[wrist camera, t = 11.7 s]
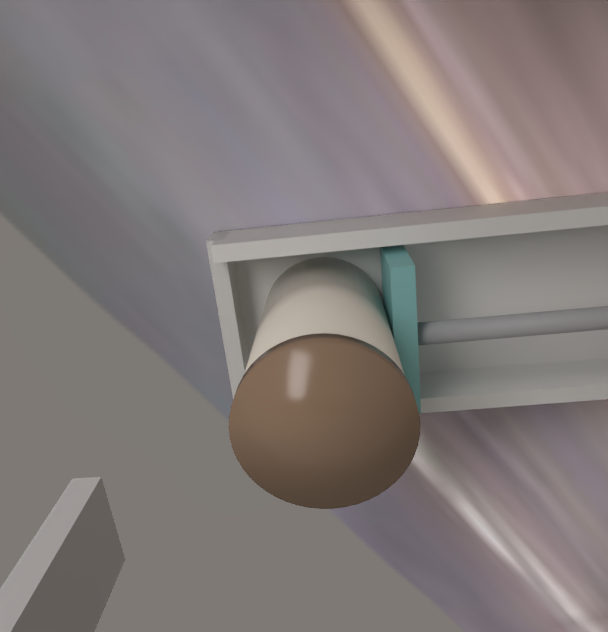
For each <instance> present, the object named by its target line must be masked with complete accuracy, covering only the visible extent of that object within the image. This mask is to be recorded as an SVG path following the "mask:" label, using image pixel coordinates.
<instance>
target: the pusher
mask: <svg viewBox="0 0 608 632" xmlns="http://www.w3.org/2000/svg"><path fill="white" fill-rule="evenodd" d="M380 257H381V274H382V290H383V305H384V309H385V312H386V315H387V319H388V322H389V325H390V329H391V332H392V335H393V339H394V342H395V345H396V349H397V352H398V355H399V359H400V362H401V365H402V369H403V372H404V375H405V376H406V378H407V380H408V382H409V384H410V386H411V388H412V391H413V394H414V398H415V401H416V404H417V408H418V411H419V414H421V401H420V376H419V350H418V345H429V344H441V343H453V342H464V341H476V340H488V339H500V338H512V337H524V336H535V335H547V334H559V333H571V332H583V331H594V330H606V329H608V306H601V307H590V308H578V309H567V310H555V311H544V312H532V313H521V314H510V315H498V316H487V317H475V318H464V319H452V320H441V321H429V322H418V323H417V300H416V275H415V265H414V263H413V261H412V259H411V258H410V256H409V254H408V252H407V251H406V249H405V247H404V245H396V246H386V247H380Z"/></svg>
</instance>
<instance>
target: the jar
mask: <svg viewBox="0 0 608 632" xmlns="http://www.w3.org/2000/svg"><path fill="white" fill-rule="evenodd" d="M229 433H230V440H231V444H232V448H233V450H234V453H235V455H236V458H237V460H238V461H239V463H240V465H241V466H242V468H243V469H244V471H245V472H246V473H247V474H248V475H249V477H250V478H251V479H252V480H253V481H254V482H255V483H256V484H258V485H259V486H260V487H261V488H263V489H264V490H266V491H267V492H269V493H270V494H272V495H274V496H275V497H277V498H279V499H282V500H284V501H286V502H289V503H292V504H295V505H299V506H304V507H309V508H320V509H333V508H341V507H347V506H351V505H356V504H359V503H361V502H364V501H367V500H369V499H371V498H373V497H375V496H377V495H379V494H380V493H382V492H383V491H385V490H386V489H388V488H389V487H390V486H391V485H393V484H394V483H395V482H396V481H397V480H398V479H399V478H400V477H401V476H402V474H403V473H404V472H405V470H406V469H407V468H408V466H409V465H410V463H411V461H412V459H413V457H414V455H415V452H416V449H417V446H418V442H419V436H420V418H419V411H418V408H417V404H416V401H415V398H414V394H413V391H412V388H411V386H410V384H409V382H408V380H407V378H406V376H405V375H404V372H403V369H402V365H401V362H400V359H399V355H398V352H397V349H396V345H395V342H394V339H393V335H392V332H391V329H390V325H389V322H388V319H387V315H386V312H385V309H384V305H383V302H382V299H381V295H380V293H379V291H378V288H377V287H376V285H375V283H374V282H373V281H372V279H371V278H370V277H369V276H368V275H367V274H366V273H365V272H364V271H363V270H361V269H360V268H359V267H357V266H355V265H354V264H352V263H350V262H347V261H344V260H341V259H337V258H330V257H317V258H311V259H307V260H304V261H301V262H299V263H297V264H295V265H293V266H291V267H290V268H288V269H287V270H286V271H284V272H283V273H282V274H281V275H280V276H279V277H278V278H277V280H276V281H275V282H274V284H273V285H272V287H271V289H270V291H269V294H268V297H267V299H266V303H265V306H264V310H263V313H262V316H261V320H260V323H259V326H258V330H257V333H256V336H255V340H254V343H253V346H252V350H251V353H250V356H249V360H248V363H247V367H246V370H245V373H244V375H243V377H242V379H241V381H240V383H239V385H238V388H237V390H236V393H235V396H234V399H233V403H232V406H231V411H230V416H229Z"/></svg>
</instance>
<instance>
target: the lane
mask: <svg viewBox="0 0 608 632" xmlns="http://www.w3.org/2000/svg"><path fill="white" fill-rule="evenodd" d="M206 243H207V249H208V255H209V261H210V267H211V272H212V278H213V284H214V290H215V296H216V301H217V307H218V313H219V319H220V325H221V331H222V336H223V342H224V348H225V354H226V360H227V365H228V371H229V377H230V383H231V389H232V394H233V399H234V396H235V393H236V390H237V388H238V385H239V383H240V381H241V379H242V377H243V375H244V373H245V370H246V367H247V363H248V360H249V356H250V353H251V350H252V346H253V343H254V340H255V336H256V333H257V330H258V326H259V323H260V320H261V316H262V313H263V310H264V306H265V303H266V299H267V297H268V294H269V291H270V289H271V287H272V285H273V284H274V282H275V281H276V280H277V278H278V277H279V276H280V275H281V274H282V273H283V272H284V271H286V270H287V269H288V268H290V267H291V266H293V265H295V264H297V263H299V262H301V261H304V260H307V259H311V258H317V257H330V258H337V259H341V260H344V261H347V262H350V263H352V264H354V265H355V266H357V267H359V268H360V269H361V270H363V271H364V272H365V273H366V274H367V275H368V276H369V277H370V278H371V279H372V281H373V282H374V283H375V285H376V287H377V288H378V291H379V293H380V295H381V299H382V302H383V290H382V274H381V257H380V247H386V246H396V245H404V247H405V249H406V251H407V252H408V254H409V256H410V258H411V259H412V261H413V263H414V265H415V275H416V300H417V323H418V322H429V321H441V320H452V319H464V318H475V317H487V316H498V315H510V314H521V313H532V312H544V311H555V310H567V309H578V308H590V307H601V306H608V192H606V193H596V194H586V195H576V196H566V197H556V198H546V199H536V200H526V201H516V202H507V203H497V204H487V205H477V206H467V207H457V208H447V209H437V210H427V211H417V212H408V213H398V214H388V215H378V216H368V217H358V218H348V219H338V220H328V221H318V222H309V223H299V224H289V225H279V226H269V227H259V228H249V229H239V230H229V231H219V232H214V233H213V234H212V235H211V236H210V237H209V239H208V240H207V241H206ZM418 350H419V376H420V401H421V413H433V412H446V411H459V410H472V409H485V408H498V407H512V406H525V405H538V404H551V403H564V402H577V401H590V400H603V399H608V329H606V330H594V331H583V332H571V333H559V334H547V335H535V336H524V337H512V338H500V339H488V340H476V341H464V342H453V343H441V344H429V345H418Z"/></svg>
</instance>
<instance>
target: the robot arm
mask: <svg viewBox="0 0 608 632" xmlns="http://www.w3.org/2000/svg"><path fill="white" fill-rule="evenodd" d="M124 561H125V558H124V554H123V550H122V547H121V543H120V540H119V536H118V533H117V530H116V526H115V523H114V519H113V516H112V512H111V509H110V506H109V502H108V499H107V495H106V492H105V488H104V485H103V481H102V478H101V477H93V478H78V479H72V480H71V482H70V483H69V485H68V486H67V488H66V490H65V491H64V493H63V494H62V496H61V497H60V499H59V500H58V502H57V503H56V505H55V506H54V508H53V509H52V511H51V512H50V514H49V516H48V517H47V519H46V520H45V521H44V523H43V525H42V526H41V528H40V529H39V531H38V532H37V534H36V535H35V537H34V538H33V540H32V541H31V543H30V544H29V546H28V547H27V549H26V550H25V552H24V553H23V555H22V557H21V558H20V560H19V561H18V563H17V564H16V566H15V567H14V569H13V570H12V572H11V573H10V575H9V576H8V578H7V579H6V581H5V582H4V584H3V585H2V587H1V588H0V632H94V631H95V629H96V627H97V624H98V622H99V619H100V617H101V615H102V613H103V610H104V608H105V606H106V603H107V601H108V598H109V596H110V594H111V592H112V589H113V586H114V585H115V582H116V580H117V577H118V575H119V573H120V570H121V568H122V566H123V563H124Z"/></svg>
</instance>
